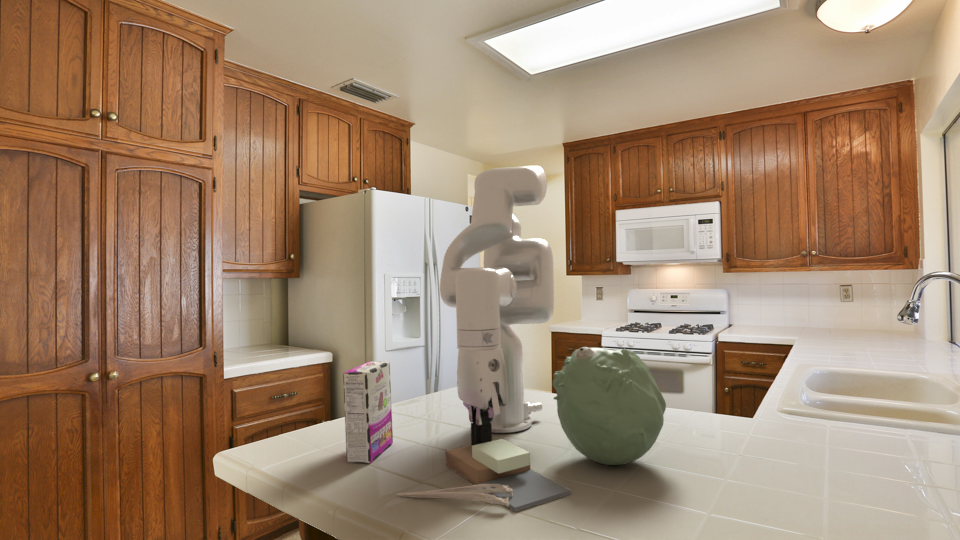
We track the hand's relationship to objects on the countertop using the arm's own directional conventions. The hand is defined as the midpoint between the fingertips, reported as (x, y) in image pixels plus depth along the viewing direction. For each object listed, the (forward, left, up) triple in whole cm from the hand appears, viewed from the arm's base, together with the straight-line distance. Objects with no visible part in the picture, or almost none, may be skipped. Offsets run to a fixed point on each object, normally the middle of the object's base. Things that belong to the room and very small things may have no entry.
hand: (481, 445), depth 86 cm
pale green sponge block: (0, +6, 0) cm, 6 cm away
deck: (0, +1, -4) cm, 4 cm away
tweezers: (+10, +9, -3) cm, 14 cm away
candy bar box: (+14, -18, -4) cm, 23 cm away
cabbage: (-19, +11, -4) cm, 22 cm away
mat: (0, +12, -4) cm, 13 cm away
